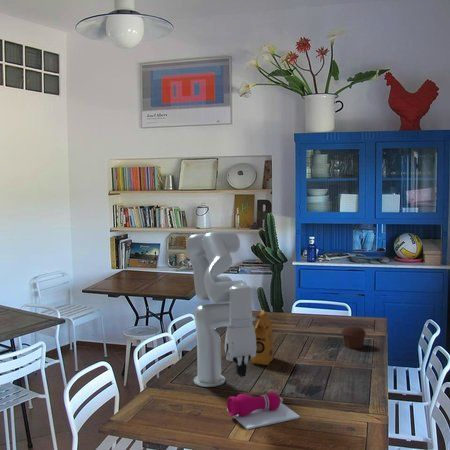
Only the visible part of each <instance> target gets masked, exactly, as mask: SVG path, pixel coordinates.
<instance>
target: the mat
mask: <svg viewBox="0 0 450 450" xmlns="http://www.w3.org/2000/svg"><path fill="white" fill-rule="evenodd" d="M226 411H227V412H228V408H226ZM232 417H233V418H234V419H235V420H236V421H237V422H238V423H239V424H240V425H242V427H244V429H246V430H251V429H256V428H260V427H265V426H269V425H273V424H279V423H283V422H287V421H291V420H297V419H300V417H301V416H300V415H299V414H298V413H296V412H295V411H294V410H292V409H291V408H290V407H289V406H287V405H286V404H284V403H283V402H282V403H280V405H279V407H278V408H277V409H276V410H269V409H267V410H266V409H265V410H263V409H257V410H254V411H253V412H251V413H250V414H248V415H246V416H240V415H239V414H238V415H237V416H232Z"/></svg>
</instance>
